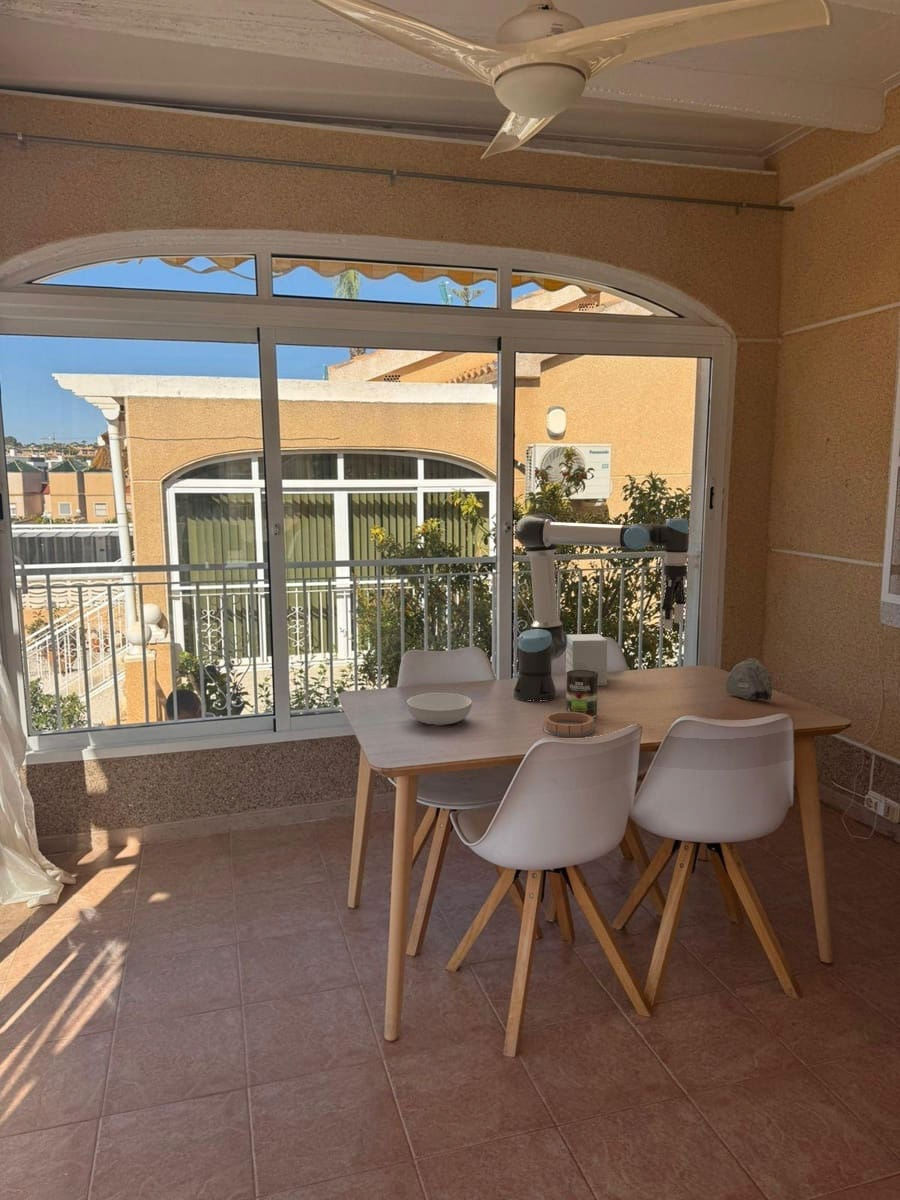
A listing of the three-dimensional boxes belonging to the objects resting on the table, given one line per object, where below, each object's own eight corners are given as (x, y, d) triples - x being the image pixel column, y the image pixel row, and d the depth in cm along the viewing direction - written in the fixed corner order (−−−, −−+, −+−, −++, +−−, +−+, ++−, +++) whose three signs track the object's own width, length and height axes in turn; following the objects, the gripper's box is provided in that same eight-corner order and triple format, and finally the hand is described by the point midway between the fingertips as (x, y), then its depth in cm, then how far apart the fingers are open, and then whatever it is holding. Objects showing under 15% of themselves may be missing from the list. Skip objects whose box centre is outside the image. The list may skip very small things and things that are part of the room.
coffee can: (594, 720, 261) (595, 677, 259) (562, 717, 265) (563, 675, 263) (600, 712, 271) (600, 670, 269) (569, 709, 274) (569, 668, 272)
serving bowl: (421, 734, 249) (421, 712, 248) (398, 717, 268) (397, 696, 267) (482, 726, 257) (482, 704, 256) (456, 709, 276) (455, 689, 275)
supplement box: (598, 677, 319) (599, 633, 317) (607, 685, 306) (607, 639, 304) (565, 678, 318) (565, 634, 316) (572, 686, 305) (572, 640, 303)
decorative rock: (773, 703, 280) (775, 660, 278) (761, 706, 276) (763, 662, 274) (734, 693, 293) (735, 652, 291) (722, 695, 290) (723, 654, 288)
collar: (536, 733, 248) (536, 722, 247) (550, 719, 262) (550, 709, 262) (588, 739, 242) (588, 728, 241) (599, 724, 256) (600, 714, 256)
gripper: (677, 568, 264) (674, 632, 267) (695, 561, 285) (692, 621, 288) (654, 567, 267) (652, 630, 270) (673, 560, 289) (671, 619, 292)
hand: (673, 625), depth 279 cm, fingers open, 13 cm apart
